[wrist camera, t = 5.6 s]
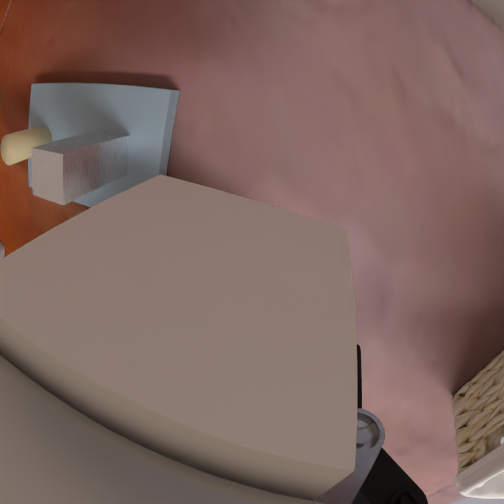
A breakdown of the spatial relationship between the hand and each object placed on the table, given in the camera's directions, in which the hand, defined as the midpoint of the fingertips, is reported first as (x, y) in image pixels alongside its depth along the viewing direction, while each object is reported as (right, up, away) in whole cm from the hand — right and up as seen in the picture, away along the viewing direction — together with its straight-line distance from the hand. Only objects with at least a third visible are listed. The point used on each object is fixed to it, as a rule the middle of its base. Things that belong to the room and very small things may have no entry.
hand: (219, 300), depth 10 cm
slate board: (-15, +12, +16) cm, 25 cm away
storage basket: (+38, -16, +16) cm, 44 cm away
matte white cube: (0, 0, +1) cm, 1 cm away
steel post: (-11, +10, +14) cm, 21 cm away
